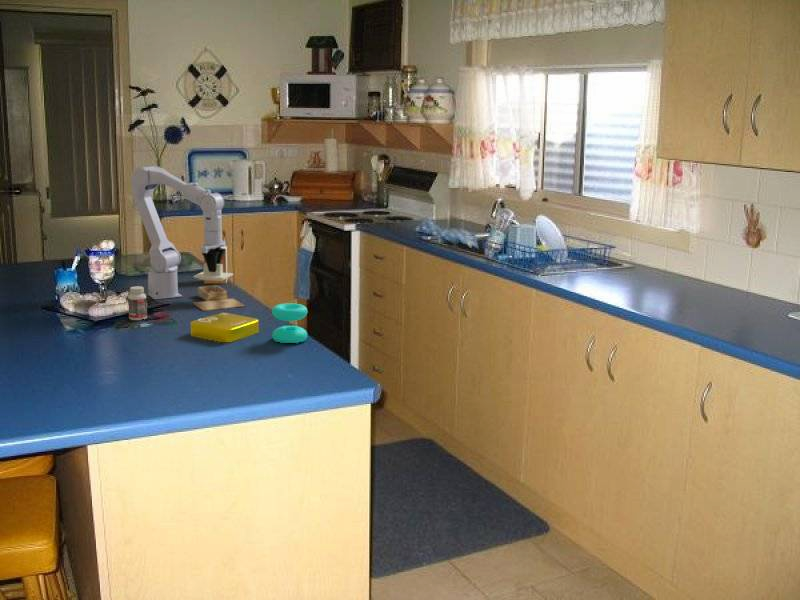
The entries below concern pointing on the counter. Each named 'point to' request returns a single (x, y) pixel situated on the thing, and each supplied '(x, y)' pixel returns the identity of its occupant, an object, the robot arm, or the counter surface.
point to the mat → (218, 304)
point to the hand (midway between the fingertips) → (214, 270)
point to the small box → (224, 262)
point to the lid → (213, 273)
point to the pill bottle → (137, 303)
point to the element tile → (224, 327)
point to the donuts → (289, 314)
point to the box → (212, 293)
